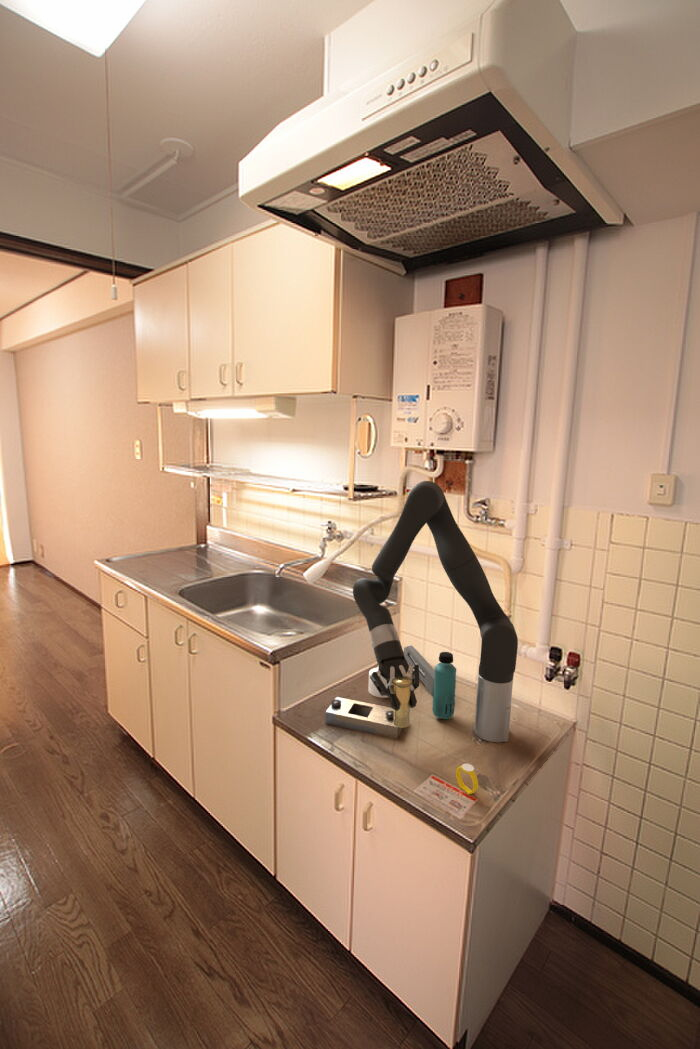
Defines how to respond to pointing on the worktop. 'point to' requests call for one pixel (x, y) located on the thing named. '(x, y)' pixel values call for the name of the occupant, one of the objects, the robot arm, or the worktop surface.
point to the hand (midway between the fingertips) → (405, 708)
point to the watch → (470, 770)
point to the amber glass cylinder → (402, 700)
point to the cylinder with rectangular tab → (372, 687)
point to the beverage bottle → (444, 687)
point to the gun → (421, 667)
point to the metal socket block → (376, 723)
